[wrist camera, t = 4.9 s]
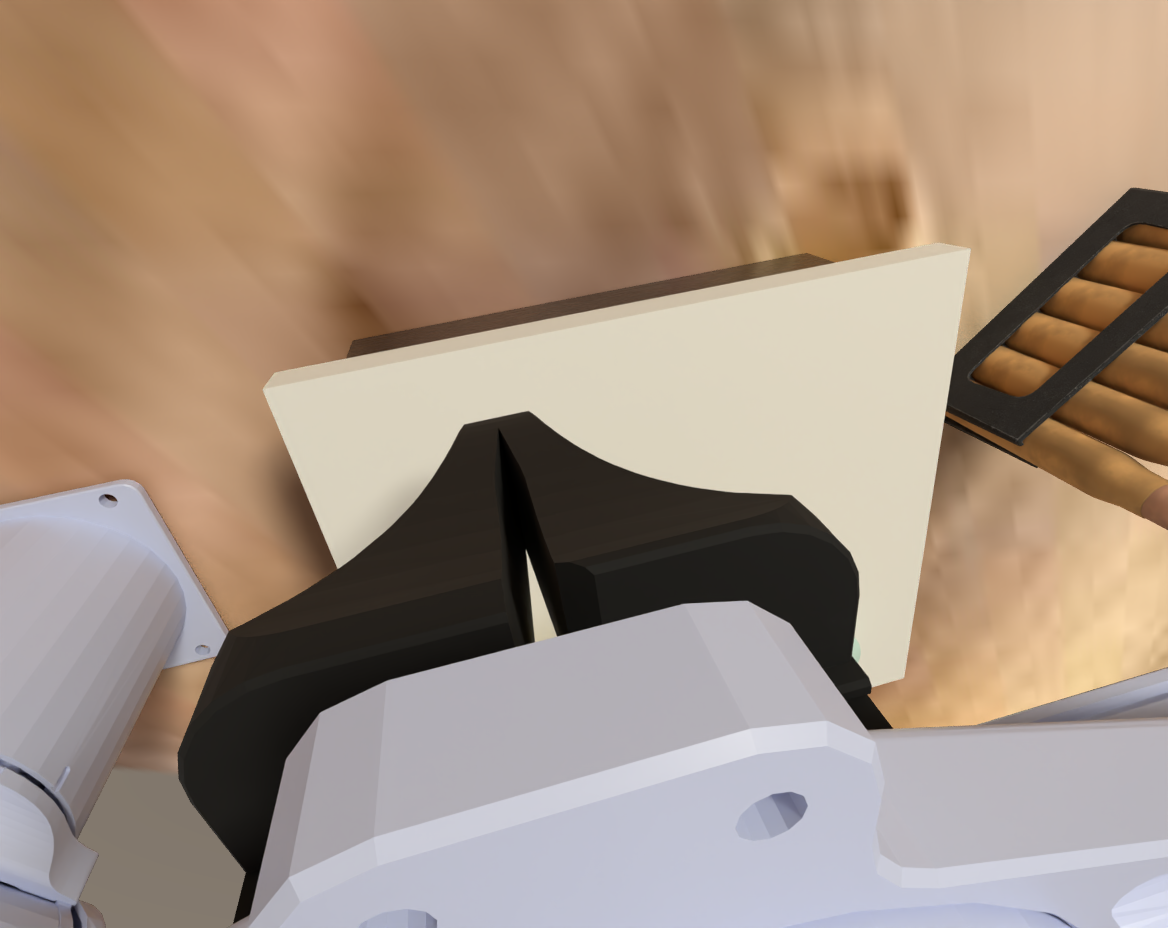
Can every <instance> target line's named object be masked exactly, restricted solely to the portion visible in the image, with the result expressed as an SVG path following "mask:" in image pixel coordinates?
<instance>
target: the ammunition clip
mask: <svg viewBox="0 0 1168 928" xmlns="http://www.w3.org/2000/svg"><path fill="white" fill-rule="evenodd" d="M944 422H945V423H947V424H949V425H951V426H953V427H955V428H957V429H959V430H961V431H963V432H965V433H967V434H969V435H971V436H973V437H975V438H977V439H979V440H981V441H983V442H985V443H987V444H989V445H991V446H993V447H995V448H997V449H999V450H1001V451H1003V452H1005V453H1007V454H1009V455H1011V456H1013V457H1015V458H1017V459H1019V460H1021V461H1023V462H1025V463H1027V464H1029V465H1031V466H1033V467H1035V468H1038V467H1039V468H1041V469H1043V470H1045V471H1046V472H1048V473H1050V474H1052V475H1054V476H1055V477H1057V478H1059V479H1061V480H1063V481H1064V482H1066V483H1068V484H1070V485H1072V486H1073V487H1075V488H1077V489H1079V490H1081V491H1083V492H1084V493H1086V494H1088V495H1090V496H1092V497H1094V498H1097V499H1099V500H1102V501H1105V502H1108V503H1111V504H1114V505H1117V506H1120V507H1122V508H1124V509H1126V510H1128V511H1130V512H1132V513H1134V514H1136V515H1138V516H1140V517H1142V518H1146V519H1148V520H1150V521H1152V522H1154V523H1156V524H1157V525H1159V526H1161V527H1163V528H1165V529H1167V530H1168V480H1166V479H1164V478H1162V477H1161V476H1159V475H1157V474H1155V473H1153V472H1151V471H1149V470H1148V469H1147V468H1145V467H1144V466H1143V465H1141V464H1140V463H1139V462H1137V461H1136V460H1135V459H1133V458H1132V457H1130V456H1129V455H1127V454H1125V453H1124V452H1126V453H1128V454H1130V455H1132V456H1134V457H1137V458H1139V459H1142V460H1146V461H1149V462H1153V463H1157V464H1161V465H1164V466H1168V192H1163V191H1155V190H1148V189H1140V188H1130V189H1129V190H1128V191H1127V192H1126V193H1125V194H1124V195H1123V196H1122V197H1121V198H1120V199H1119V200H1118V201H1117V202H1116V203H1115V204H1114V205H1113V206H1111V207H1110V208H1109V209H1108V210H1107V211H1106V212H1105V213H1104V214H1103V215H1102V216H1101V217H1100V218H1099V219H1098V220H1097V221H1096V222H1095V223H1094V224H1093V225H1091V226H1090V227H1089V228H1088V229H1087V230H1086V231H1085V232H1084V233H1083V234H1082V235H1081V236H1080V237H1079V238H1078V239H1077V240H1076V241H1075V242H1074V243H1073V244H1071V245H1070V246H1069V247H1068V248H1067V249H1066V250H1065V251H1064V252H1063V253H1062V254H1061V255H1060V256H1059V257H1058V258H1057V259H1056V260H1055V261H1054V262H1053V263H1051V264H1050V265H1049V266H1048V267H1047V268H1046V269H1045V270H1044V271H1043V272H1042V273H1041V274H1040V275H1039V276H1038V277H1037V278H1036V279H1035V280H1034V281H1032V282H1031V283H1030V284H1029V285H1028V286H1027V287H1026V288H1025V289H1024V290H1023V291H1022V292H1021V293H1020V294H1019V295H1018V296H1017V297H1016V298H1015V299H1014V300H1012V301H1011V302H1010V303H1009V304H1008V305H1007V306H1006V307H1005V308H1004V309H1003V310H1002V311H1001V312H1000V313H999V314H998V315H997V316H996V317H995V318H994V319H992V320H991V321H990V322H989V323H988V324H987V325H986V326H985V327H984V328H983V329H982V330H981V331H980V332H979V333H978V334H977V335H976V336H975V337H974V338H972V339H971V340H970V341H969V342H968V343H967V344H966V345H965V346H964V347H963V348H962V349H961V350H960V351H959V352H958V353H957V354H956V355H955V356H954V360H953V367H952V373H951V380H950V386H949V392H948V399H947V405H946V412H945V418H944ZM1082 432H1083V433H1082ZM1084 433H1085V434H1084ZM1086 434H1087V435H1086ZM1088 435H1089V436H1088ZM1090 436H1091V437H1090ZM1092 437H1093V438H1092ZM1094 438H1095V439H1094ZM1096 439H1098V440H1096ZM1099 440H1100V441H1099ZM1101 441H1102V442H1101ZM1103 442H1104V443H1103ZM1105 443H1106V444H1105ZM1107 444H1108V445H1107ZM1109 445H1111V446H1113V447H1115V448H1117V449H1119V450H1121V451H1119V450H1117V449H1115V448H1113V447H1111V446H1109ZM1122 451H1124V452H1122Z"/></svg>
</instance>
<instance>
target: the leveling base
mask: <svg viewBox="0 0 1168 928" xmlns="http://www.w3.org/2000/svg"><path fill="white" fill-rule="evenodd" d="M832 263H835V262H832V261H829V260H826V259H823V258H820V257H817V256H814V255H811V254H808V253H805V254H800V255H794V256H789V257H784V258H779V259H774V260H769V261H763V262H758V263H753V264H748V265H743V266H737V267H732V268H727V269H722V270H717V271H712V272H706V273H701V274H696V275H691V276H686V277H680V278H675V279H670V280H665V281H660V282H654V283H649V284H644V285H639V286H634V287H629V288H623V289H618V290H613V291H608V292H603V293H597V294H592V295H587V296H582V297H577V298H571V299H566V300H561V301H556V302H551V303H546V304H540V305H535V306H530V307H525V308H520V309H514V310H509V311H504V312H499V313H494V314H488V315H483V316H478V317H473V318H468V319H463V320H457V321H452V322H447V323H442V324H437V325H431V326H426V327H421V328H416V329H411V330H405V331H400V332H395V333H390V334H385V335H380V336H374V337H369V338H364V339H359V340H354V341H353V342H352V345H351V347H350V350H349V353H348V355H347V358H352V357H357V356H362V355H367V354H372V353H378V352H383V351H388V350H393V349H398V348H403V347H408V346H413V345H418V344H423V343H429V342H434V341H439V340H444V339H449V338H454V337H459V336H464V335H469V334H474V333H480V332H485V331H490V330H495V329H500V328H505V327H510V326H515V325H520V324H526V323H531V322H536V321H541V320H546V319H551V318H556V317H561V316H566V315H571V314H577V313H582V312H587V311H592V310H597V309H602V308H607V307H612V306H617V305H622V304H628V303H633V302H638V301H643V300H648V299H653V298H658V297H663V296H668V295H673V294H679V293H684V292H689V291H694V290H699V289H704V288H709V287H714V286H719V285H725V284H730V283H735V282H740V281H745V280H750V279H755V278H760V277H765V276H770V275H776V274H781V273H786V272H791V271H796V270H801V269H806V268H811V267H816V266H821V265H827V264H832ZM347 358H346V359H347Z"/></svg>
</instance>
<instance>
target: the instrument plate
mask: <svg viewBox="0 0 1168 928" xmlns="http://www.w3.org/2000/svg"><path fill="white" fill-rule="evenodd" d="M970 252H971V248H965V247H960V246H954V245H949V244H943V243H934V244H929V245H924V246H918V247H913V248H908V249H903V250H898V251H893V252H888V253H883V254H878V255H872V256H867V257H862V258H857V259H852V260H847V261H842V262H837V263H832V264H827V265H821V266H816V267H811V268H806V269H801V270H796V271H791V272H786V273H781V274H776V275H770V276H765V277H760V278H755V279H750V280H745V281H740V282H735V283H730V284H725V285H719V286H714V287H709V288H704V289H699V290H694V291H689V292H684V293H679V294H673V295H668V296H663V297H658V298H653V299H648V300H643V301H638V302H633V303H628V304H622V305H617V306H612V307H607V308H602V309H597V310H592V311H587V312H582V313H577V314H571V315H566V316H561V317H556V318H551V319H546V320H541V321H536V322H531V323H526V324H520V325H515V326H510V327H505V328H500V329H495V330H490V331H485V332H480V333H474V334H469V335H464V336H459V337H454V338H449V339H444V340H439V341H434V342H429V343H423V344H418V345H413V346H408V347H403V348H398V349H393V350H388V351H383V352H378V353H372V354H367V355H362V356H357V357H352V358H347V359H342V360H337V361H332V362H326V363H321V364H316V365H311V366H306V367H301V368H296V369H291V370H286V371H281V372H275V373H274V374H273V376H272V377H271V378H270V380H269V381H268V382H267V384H266V385H265V386H264V388H263V392H264V394H265V397H266V399H267V401H268V404H269V406H270V409H271V411H272V413H273V416H274V418H275V420H276V423H277V425H278V428H279V430H280V432H281V435H282V437H283V440H284V442H285V444H286V447H287V449H288V451H289V454H290V456H291V459H292V461H293V463H294V466H295V468H296V471H297V473H298V475H299V478H300V480H301V483H302V485H303V487H304V490H305V492H306V494H307V497H308V499H309V502H310V504H311V506H312V509H313V511H314V514H315V516H316V518H317V521H318V523H319V525H320V528H321V530H322V533H323V535H324V537H325V540H326V542H327V545H328V547H329V549H330V552H331V554H332V557H333V559H334V561H335V564H336V566H337V568H338V569H339V568H340V567H341V566H343V565H344V564H346V563H347V562H348V561H350V560H351V559H353V558H354V557H355V556H356V555H357V554H359V553H360V552H361V551H362V550H363V549H365V548H366V547H367V546H368V545H370V544H371V543H372V542H373V541H374V540H376V539H377V538H378V537H379V536H380V535H382V534H383V533H384V532H385V531H386V530H387V529H388V528H389V527H391V526H392V525H393V524H394V523H395V522H396V521H397V520H398V518H399V517H400V516H401V515H402V514H403V513H404V512H405V511H406V510H407V509H408V508H409V507H410V506H411V505H412V504H413V503H414V501H415V500H416V499H417V498H418V497H419V495H420V494H421V493H422V491H423V490H424V489H425V487H426V486H427V485H428V483H429V482H430V480H431V479H432V478H433V476H434V475H435V473H436V471H437V470H438V468H439V466H440V465H441V463H442V462H443V460H444V458H445V457H446V455H447V453H448V451H449V450H450V448H451V446H452V444H453V442H454V440H455V438H456V437H457V435H458V433H459V431H460V429H461V428H462V426H463V425H464V424H468V423H473V422H478V421H483V420H487V419H492V418H497V417H501V416H506V415H511V414H515V413H520V412H525V411H530V412H531V413H533V414H534V415H535V416H537V417H538V418H539V419H540V420H541V421H543V422H544V423H545V424H546V425H548V426H549V427H550V428H552V429H553V430H554V431H556V432H557V433H558V434H560V435H561V436H563V437H564V438H566V439H567V440H569V441H570V442H572V443H573V444H575V445H576V446H578V447H580V448H581V449H583V450H585V451H587V452H589V453H591V454H593V455H594V456H596V457H598V458H600V459H602V460H605V461H607V462H609V463H611V464H614V465H616V466H619V467H622V468H624V469H627V470H629V471H632V472H635V473H638V474H641V475H644V476H647V477H651V478H655V479H659V480H663V481H667V482H671V483H675V484H679V485H685V486H690V487H695V488H702V489H710V490H717V491H725V492H735V493H759V494H784V495H792V496H793V497H794V498H796V499H797V500H798V501H799V502H800V503H802V504H803V505H804V506H805V507H806V508H807V509H808V510H810V511H811V512H812V513H813V514H814V515H815V516H816V517H817V518H818V519H819V520H820V521H821V522H822V523H823V524H824V525H825V526H826V527H827V528H828V529H829V530H830V531H831V533H832V534H833V535H834V536H835V537H836V538H837V539H838V540H839V541H840V542H841V543H842V544H843V545H844V546H845V547H846V548H847V549H848V550H849V551H850V553H851V555H852V557H853V560H854V562H855V564H856V567H857V569H858V571H859V589H860V597H859V604H858V612H857V620H856V628H855V636H854V644H853V651H852V657H853V658H854V659H855V660H856V662H857V663H858V664H859V665H860V667H861V668H862V669H863V670H864V672H865V673H866V674H867V676H868V677H869V679H870V682H871V685H872V687H874V686H878V685H881V684H885V683H888V682H892V681H895V680H899V679H902V678H904V674H905V668H906V661H907V655H908V649H909V642H910V636H911V629H912V623H913V617H914V610H915V604H916V597H917V591H918V585H919V578H920V572H921V565H922V559H923V553H924V546H925V540H926V533H927V527H928V521H929V514H930V508H931V501H932V495H933V488H934V482H935V476H936V469H937V463H938V456H939V450H940V444H941V437H942V431H943V424H944V418H945V412H946V405H947V399H948V392H949V386H950V380H951V373H952V367H953V360H954V354H955V348H956V341H957V335H958V328H959V322H960V316H961V309H962V303H963V296H964V290H965V284H966V277H967V271H968V264H969V258H970ZM526 555H527V565H528V575H529V585H530V596H531V606H532V617H533V627H534V637H535V642H538V641H542V640H546V639H550V638H554V637H557V635H556V632H555V629H554V627H553V624H552V621H551V618H550V615H549V613H548V610H547V607H546V604H545V601H544V599H543V596H542V593H541V590H540V587H539V585H538V582H537V579H536V576H535V573H534V571H533V568H532V565H531V562H530V559H529V556H528V554H527V551H526Z"/></svg>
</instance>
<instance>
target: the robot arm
mask: <svg viewBox="0 0 1168 928" xmlns="http://www.w3.org/2000/svg"><path fill="white" fill-rule="evenodd" d="M105 494H110V495H112V496H114V497H115V498H116V499H117V501H111V500H108V499H107V498H106V497H105ZM526 551H527V554H528V556H529V559H530V562H531V565H532V568H533V571H534V573H535V576H536V579H537V582H538V585H539V587H540V590H541V593H542V596H543V599H544V601H545V604H546V607H547V610H548V613H549V615H550V618H551V621H552V624H553V627H554V629H555V632H556V635H557V637H554V638H550V639H546V640H542V641H538V642H535V637H534V627H533V617H532V606H531V596H530V585H529V575H528V565H527V555H526ZM859 597H860V589H859V571H858V569H857V567H856V564H855V562H854V560H853V557H852V555H851V553H850V551H849V550H848V549H847V548H846V547H845V546H844V545H843V544H842V543H841V542H840V541H839V540H838V539H837V538H836V537H835V536H834V535H833V534H832V533H831V531H830V530H829V529H828V528H827V527H826V526H825V525H824V524H823V523H822V522H821V521H820V520H819V519H818V518H817V517H816V516H815V515H814V514H813V513H812V512H811V511H810V510H808V509H807V508H806V507H805V506H804V505H803V504H802V503H800V502H799V501H798V500H797V499H796V498H794V497H793V496H792V495H784V494H759V493H735V492H725V491H717V490H710V489H702V488H695V487H690V486H685V485H679V484H675V483H671V482H667V481H663V480H659V479H655V478H651V477H647V476H644V475H641V474H638V473H635V472H632V471H629V470H627V469H624V468H622V467H619V466H616V465H614V464H611V463H609V462H607V461H605V460H602V459H600V458H598V457H596V456H594V455H593V454H591V453H589V452H587V451H585V450H583V449H581V448H580V447H578V446H576V445H575V444H573V443H572V442H570V441H569V440H567V439H566V438H564V437H563V436H561V435H560V434H558V433H557V432H556V431H554V430H553V429H552V428H550V427H549V426H548V425H546V424H545V423H544V422H543V421H541V420H540V419H539V418H538V417H537V416H535V415H534V414H533V413H531V412H530V411H525V412H520V413H515V414H511V415H506V416H501V417H497V418H492V419H487V420H483V421H478V422H473V423H468V424H464V425H463V426H462V428H461V429H460V431H459V433H458V435H457V437H456V438H455V440H454V442H453V444H452V446H451V448H450V450H449V451H448V453H447V455H446V457H445V458H444V460H443V462H442V463H441V465H440V466H439V468H438V470H437V471H436V473H435V475H434V476H433V478H432V479H431V480H430V482H429V483H428V485H427V486H426V487H425V489H424V490H423V491H422V493H421V494H420V495H419V497H418V498H417V499H416V500H415V501H414V503H413V504H412V505H411V506H410V507H409V508H408V509H407V510H406V511H405V512H404V513H403V514H402V515H401V516H400V517H399V518H398V520H397V521H396V522H395V523H394V524H393V525H392V526H391V527H389V528H388V529H387V530H386V531H385V532H384V533H383V534H382V535H380V536H379V537H378V538H377V539H376V540H374V541H373V542H372V543H371V544H370V545H368V546H367V547H366V548H365V549H363V550H362V551H361V552H360V553H359V554H357V555H356V556H355V557H354V558H353V559H351V560H350V561H348V562H347V563H346V564H344V565H343V566H341V567H340V568H339V569H337V570H336V571H334V572H333V573H331V574H330V575H329V576H327V577H325V578H324V579H322V580H321V581H319V582H318V583H316V584H314V585H313V586H311V587H310V588H308V589H307V590H305V591H303V592H302V593H300V594H298V595H297V596H295V597H293V598H291V599H290V600H288V601H286V602H284V603H282V604H280V605H278V606H276V607H275V608H273V609H271V610H269V611H267V612H265V613H263V614H261V615H260V616H258V617H256V618H254V619H252V620H250V621H248V622H246V623H245V624H243V625H241V626H239V627H236V628H234V629H232V630H230V631H228V629H227V628H226V626H225V624H224V622H223V621H222V619H221V617H220V616H219V614H218V612H217V611H216V609H215V607H214V606H213V604H212V602H211V600H210V599H209V597H208V595H207V594H206V592H205V590H204V589H203V587H202V585H201V584H200V582H199V580H198V578H197V577H196V575H195V573H194V572H193V570H192V568H191V567H190V565H189V563H188V562H187V560H186V558H185V556H184V555H183V553H182V551H181V550H180V548H179V546H178V545H177V543H176V541H175V540H174V538H173V536H172V534H171V533H170V531H169V529H168V528H167V526H166V524H165V523H164V521H163V519H162V518H161V516H160V514H159V512H158V511H157V509H156V507H155V506H154V504H153V502H152V501H151V499H150V497H149V496H148V494H147V492H146V491H145V489H144V488H143V487H142V485H141V484H139V483H137V482H136V481H133V480H129V479H124V480H117V481H112V482H107V483H103V484H98V485H93V486H88V487H84V488H79V489H74V490H69V491H65V492H60V493H55V494H50V495H46V496H41V497H36V498H31V499H27V500H22V501H17V502H12V503H7V504H3V505H0V928H106V926H105V922H104V919H103V916H102V913H100V911H99V910H98V909H97V908H95V907H94V906H93V905H92V904H89V903H86V902H83V901H80V900H79V897H80V895H81V893H82V891H83V889H84V886H85V884H86V882H87V880H88V878H89V875H90V873H91V871H92V869H93V867H94V864H95V862H96V860H97V858H98V856H99V855H98V853H97V852H96V851H94V850H92V849H90V848H88V847H86V846H85V845H83V844H82V843H80V842H79V841H78V840H77V839H78V837H79V835H80V833H81V831H82V829H83V827H84V825H85V823H86V821H87V819H88V817H89V815H90V813H91V811H92V809H93V807H94V805H95V803H96V801H97V799H98V797H99V795H100V793H101V791H102V789H103V787H104V785H105V783H106V781H107V779H108V777H109V775H110V773H111V771H112V769H113V767H114V765H115V763H116V761H117V759H118V757H119V755H120V753H121V751H122V749H123V747H124V745H125V743H126V741H127V739H128V737H129V735H130V733H131V731H132V729H133V727H134V725H135V723H136V721H137V719H138V717H139V715H140V713H141V711H142V709H143V707H144V705H145V703H146V701H147V699H148V697H149V695H150V693H151V691H152V689H153V687H154V685H155V683H156V681H157V679H158V677H159V675H160V673H161V671H162V670H163V669H167V668H171V667H175V666H179V665H183V664H187V663H191V662H195V661H199V660H204V659H208V658H212V657H216V659H215V661H214V663H213V665H212V667H211V670H210V672H209V675H208V677H207V680H206V683H205V685H204V688H203V690H202V693H201V696H200V698H199V701H198V703H197V706H196V708H195V711H194V713H193V716H192V718H191V721H190V723H189V726H188V728H187V731H186V733H185V736H184V738H183V741H182V743H181V746H180V748H179V751H178V774H179V780H180V782H181V784H182V786H183V788H184V790H185V792H186V794H187V796H188V798H189V800H190V802H191V803H192V805H193V806H194V807H195V808H196V810H197V811H198V812H199V814H200V815H201V816H202V817H203V819H204V820H205V821H206V822H207V824H208V825H209V826H210V828H211V829H212V830H213V831H214V833H215V834H216V835H217V836H218V838H219V839H220V840H221V841H222V843H223V844H224V845H225V847H226V848H227V849H228V850H229V852H230V853H231V854H232V856H233V857H234V858H235V859H236V860H237V862H238V863H239V864H240V866H241V867H242V868H243V870H244V871H245V872H246V875H245V878H244V882H243V887H242V890H241V894H240V898H239V902H238V906H237V910H236V914H235V918H234V922H233V925H231V926H229V927H227V928H1168V667H1167V668H1163V669H1160V670H1157V671H1154V672H1150V673H1147V674H1144V675H1140V676H1137V677H1134V678H1130V679H1127V680H1124V681H1120V682H1117V683H1114V684H1110V685H1107V686H1104V687H1101V688H1097V689H1094V690H1091V691H1087V692H1084V693H1081V694H1077V695H1074V696H1071V697H1067V698H1064V699H1061V700H1057V701H1054V702H1051V703H1048V704H1044V705H1041V706H1038V707H1034V708H1031V709H1028V710H1024V711H1021V712H1018V713H1014V714H1011V715H1008V716H1005V717H1001V718H998V719H995V720H991V721H988V722H985V723H981V724H978V725H971V726H948V727H924V728H901V729H893V728H892V727H891V725H890V724H889V723H888V721H887V720H886V719H885V717H884V716H883V715H882V714H881V712H880V711H879V710H878V708H877V707H876V706H875V704H874V703H873V702H872V700H871V699H870V698H869V697H868V695H867V694H870V693H871V688H872V685H871V682H870V679H869V677H868V676H867V674H866V673H865V672H864V670H863V669H862V668H861V667H860V665H859V664H858V663H857V662H856V660H855V659H854V658H853V657H852V651H853V644H854V636H855V628H856V620H857V612H858V604H859ZM200 645H205V646H208V647H209V648H204V647H201V646H200Z"/></svg>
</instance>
